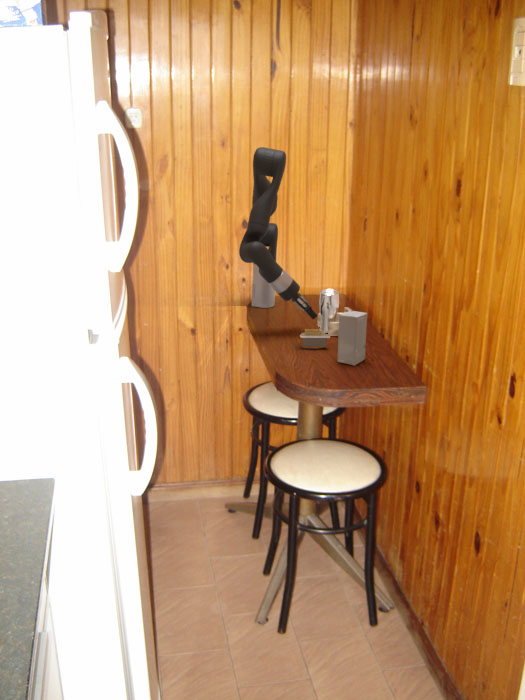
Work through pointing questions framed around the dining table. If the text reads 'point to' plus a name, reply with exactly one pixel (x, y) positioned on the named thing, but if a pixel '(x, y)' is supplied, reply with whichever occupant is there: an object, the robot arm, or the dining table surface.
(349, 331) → the skincare box
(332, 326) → the bracket
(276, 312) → the dining table surface
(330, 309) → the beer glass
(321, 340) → the platform
